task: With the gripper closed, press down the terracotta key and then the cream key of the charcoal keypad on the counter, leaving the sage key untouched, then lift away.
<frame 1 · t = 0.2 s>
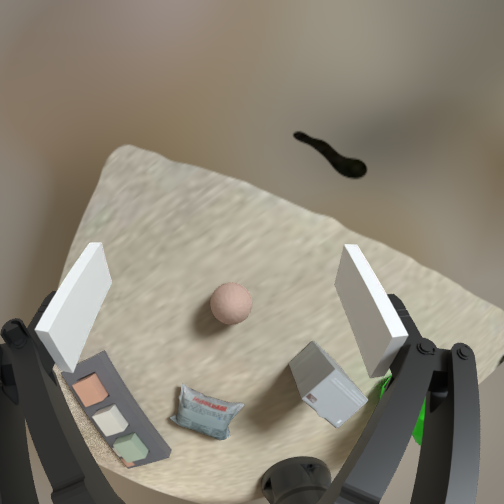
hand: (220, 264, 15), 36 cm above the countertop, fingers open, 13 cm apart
cream key: (111, 419, 45), point 4 cm above the countertop, slide at 0.0 cm
sage key: (131, 446, 45), point 4 cm above the countertop, slide at 0.0 cm
skincare box: (311, 365, 51), on the countertop
plastic bottle: (393, 386, 52), on the countertop
egg: (231, 300, 51), on the countertop
keypad board: (117, 411, 48), on the countertop
packaged food: (207, 406, 50), on the countertop
terracotta key: (91, 389, 45), point 4 cm above the countertop, slide at 0.0 cm
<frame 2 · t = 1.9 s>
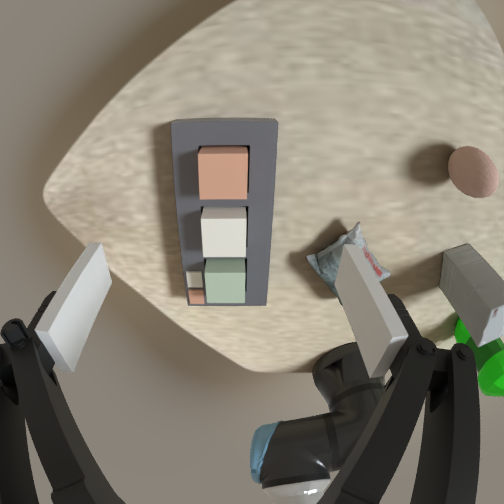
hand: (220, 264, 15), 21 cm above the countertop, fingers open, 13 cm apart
cream key: (224, 229, 34), point 4 cm above the countertop, slide at 0.0 cm
sage key: (225, 278, 38), point 4 cm above the countertop, slide at 0.0 cm
skincare box: (451, 263, 44), on the countertop
plastic bottle: (465, 317, 52), on the countertop
egg: (453, 161, 33), on the countertop
keypad board: (225, 216, 37), on the countertop
packaged food: (347, 256, 42), on the countertop
terracotta key: (223, 171, 30), point 4 cm above the countertop, slide at 0.0 cm
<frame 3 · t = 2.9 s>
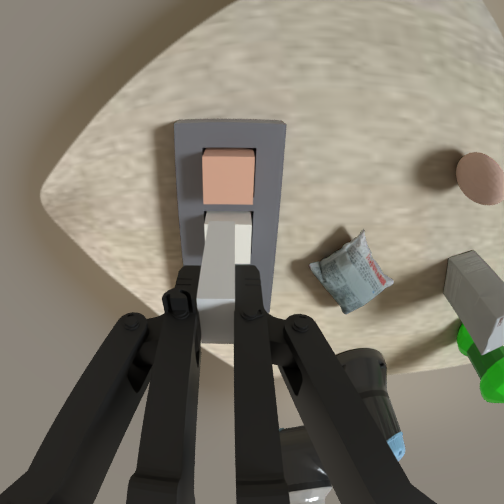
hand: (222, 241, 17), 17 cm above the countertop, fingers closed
cream key: (228, 235, 33), point 4 cm above the countertop, slide at 0.0 cm
skincare box: (456, 270, 43), on the countertop
plastic bottle: (467, 323, 51), on the countertop
egg: (461, 166, 32), on the countertop
keypad board: (229, 220, 36), on the countertop
packaged food: (351, 264, 41), on the countertop
terracotta key: (228, 174, 29), point 4 cm above the countertop, slide at 0.0 cm
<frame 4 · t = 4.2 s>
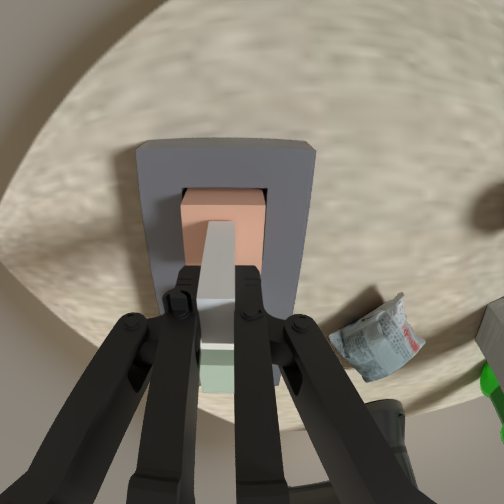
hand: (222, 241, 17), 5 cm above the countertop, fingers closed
cream key: (225, 310, 23), point 4 cm above the countertop, slide at 0.0 cm
sage key: (227, 363, 26), point 4 cm above the countertop, slide at 0.0 cm
skincare box: (492, 315, 33), on the countertop
plastic bottle: (491, 361, 41), on the countertop
keypad board: (226, 281, 26), on the countertop
packaged food: (377, 325, 31), on the countertop
terracotta key: (224, 226, 19), point 3 cm above the countertop, slide at 0.6 cm, touching gripper
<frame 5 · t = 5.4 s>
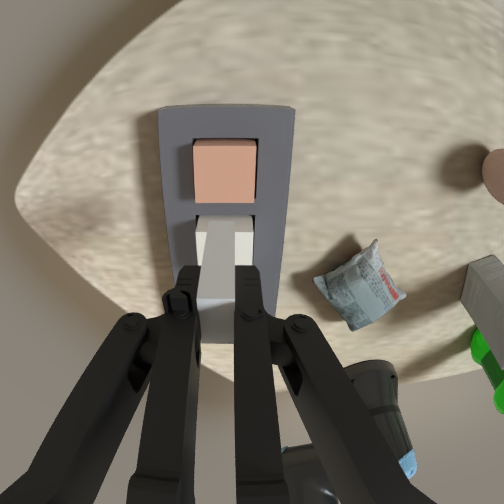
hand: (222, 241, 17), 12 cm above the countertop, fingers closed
cream key: (225, 244, 27), point 4 cm above the countertop, slide at 0.0 cm
skincare box: (475, 276, 37), on the countertop
plastic bottle: (481, 330, 46), on the countertop
egg: (486, 164, 27), on the countertop
keypad board: (226, 225, 30), on the countertop
packaged food: (359, 276, 36), on the countertop
terracotta key: (225, 167, 24), point 3 cm above the countertop, slide at 1.0 cm
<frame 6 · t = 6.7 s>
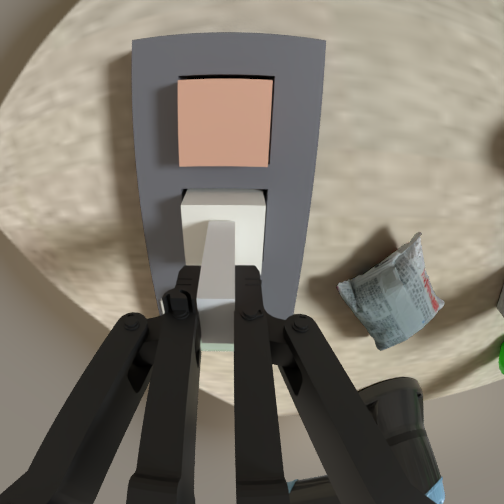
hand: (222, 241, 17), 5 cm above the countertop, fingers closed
cream key: (224, 226, 19), point 3 cm above the countertop, slide at 0.7 cm, touching gripper
sage key: (225, 312, 23), point 4 cm above the countertop, slide at 0.0 cm
keypad board: (225, 208, 22), on the countertop
packaged food: (391, 281, 27), on the countertop
terracotta key: (225, 118, 16), point 3 cm above the countertop, slide at 1.0 cm
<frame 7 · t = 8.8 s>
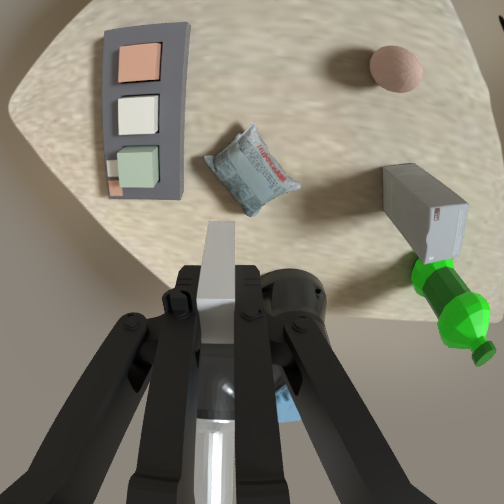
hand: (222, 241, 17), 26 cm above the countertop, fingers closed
cream key: (140, 113, 33), point 3 cm above the countertop, slide at 1.0 cm
sage key: (139, 165, 36), point 4 cm above the countertop, slide at 0.0 cm
skincare box: (396, 185, 43), on the countertop
plastic bottle: (424, 262, 53), on the countertop
egg: (380, 68, 33), on the countertop
keypad board: (146, 110, 35), on the countertop
packaged food: (253, 165, 41), on the countertop
terracotta key: (141, 62, 29), point 3 cm above the countertop, slide at 1.0 cm
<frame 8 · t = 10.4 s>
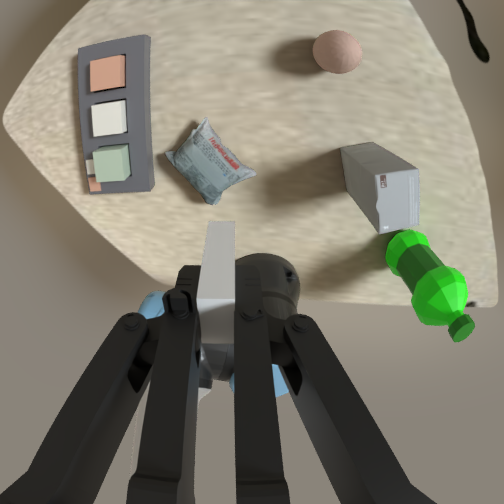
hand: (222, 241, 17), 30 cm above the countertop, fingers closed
cream key: (111, 117, 37), point 3 cm above the countertop, slide at 1.0 cm
sage key: (113, 162, 40), point 4 cm above the countertop, slide at 0.0 cm
skincare box: (357, 165, 46), on the countertop
plastic bottle: (399, 243, 55), on the countertop
egg: (327, 54, 36), on the countertop
keypad board: (118, 114, 39), on the countertop
packaged food: (212, 158, 45), on the countertop
terracotta key: (110, 73, 33), point 3 cm above the countertop, slide at 1.0 cm
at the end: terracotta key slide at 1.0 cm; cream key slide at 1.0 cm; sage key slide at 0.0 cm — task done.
